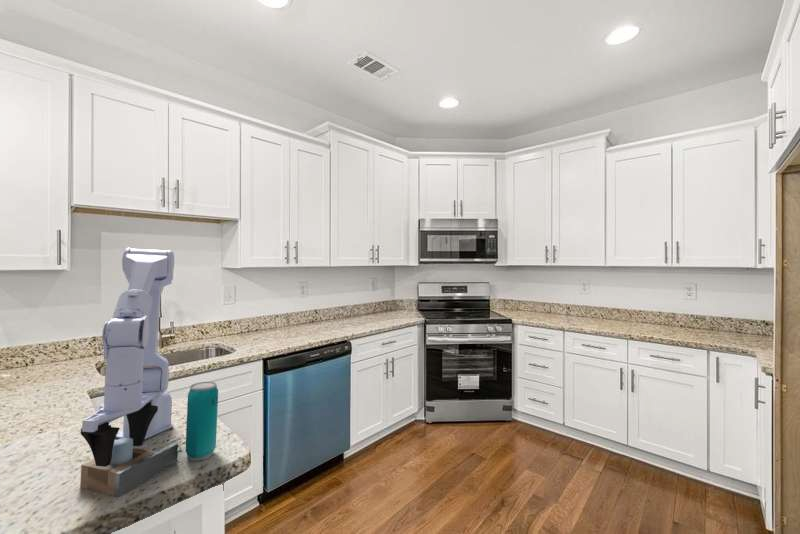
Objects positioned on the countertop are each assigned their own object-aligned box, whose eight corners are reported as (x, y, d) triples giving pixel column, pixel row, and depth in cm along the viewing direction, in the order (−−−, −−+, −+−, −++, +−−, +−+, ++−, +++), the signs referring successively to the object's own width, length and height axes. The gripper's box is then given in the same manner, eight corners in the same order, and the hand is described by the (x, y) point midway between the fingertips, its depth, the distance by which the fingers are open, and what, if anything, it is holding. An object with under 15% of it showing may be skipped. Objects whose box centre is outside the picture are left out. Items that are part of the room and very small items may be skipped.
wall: (173, 462, 76) (174, 442, 76) (177, 463, 75) (178, 443, 75) (114, 495, 64) (115, 472, 64) (118, 497, 64) (119, 473, 64)
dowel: (127, 472, 71) (129, 436, 71) (134, 478, 69) (136, 441, 69) (105, 480, 68) (107, 442, 69) (112, 487, 67) (114, 448, 67)
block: (124, 465, 74) (125, 445, 74) (155, 472, 72) (156, 451, 72) (80, 487, 66) (81, 464, 66) (114, 495, 64) (115, 472, 64)
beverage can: (219, 448, 82) (222, 381, 82) (210, 461, 76) (213, 389, 77) (191, 449, 81) (194, 381, 81) (180, 463, 75) (183, 389, 76)
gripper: (134, 370, 77) (131, 436, 76) (66, 393, 62) (62, 474, 62) (166, 372, 76) (163, 438, 76) (106, 395, 62) (102, 477, 62)
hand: (120, 454), depth 69 cm, fingers open, 7 cm apart
